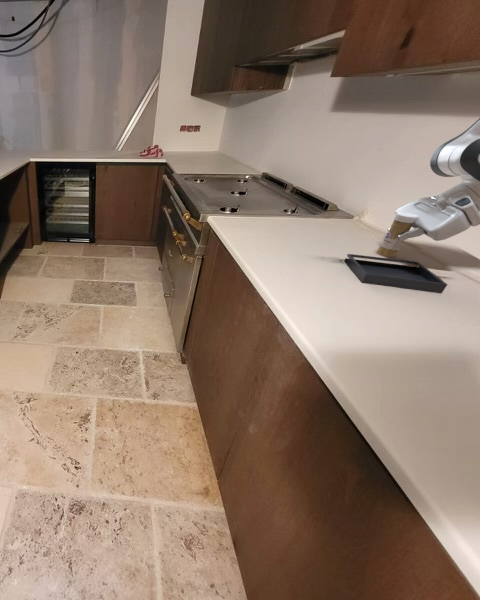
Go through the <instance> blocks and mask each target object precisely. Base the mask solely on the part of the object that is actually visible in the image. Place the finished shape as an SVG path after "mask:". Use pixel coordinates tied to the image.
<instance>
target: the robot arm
mask: <svg viewBox="0 0 480 600" xmlns="http://www.w3.org/2000/svg"><path fill="white" fill-rule="evenodd" d="M429 166H430V169H431V171H432V172H433V173H434V174H436V175H437V176H439V177H442V178H452V177H460V178H461V179H462V181H461V182H460V183H459V184H457V185H454V186H453V187H451V188H449V189H447V190H445V191H443V192H441V193H439V194H437V195H434V196H427V197H426V196H425V197H424V196H423V197H421V198H418V199H415V200H412V201H410V202H409V203H406V204H404V205H401V206H400V207H398V208H397V209H396V210H395V211H394V214H395V215H396V214H397V213H399V212H405V213H411V214H415V215H417V216H418V218H417V220H416V221H415V223H414V224H413V225H412V227H411V228H412V229H411V230H409V231H408V232H402V233H400V234H398V235H397V237H398V239H399V240H401V241H403V242H404V241H406V240H408V239H412V238H417V237H421V236H423V235H424V236H426V237H429V238H430V239H432V240H433V241H436V242H439V241H444V240H445V241H446V240H447V239H450V238H452V237H454V236H456V235H458V234H461V233H463V232H466V231H467V230H468V229H470V228H471V227H477V226H479V225H480V117H479V118H478V119H477V120H475V122H474V123H472V124H471V125H470V126H469V127H468V128H467V129H466V130H464V131H463V132H462V133H460V134H458V135H457V136H455V137H453V138H451V139H449V140H448V141H446V142H444V143H442V144H440V146H439V147H437V149H435V151H434V152H433V154H432V155H431V157H430V161H429ZM390 227H391V226H389V227H388V228H387V229H386V230H387V232H388V231H389V229H390Z"/></svg>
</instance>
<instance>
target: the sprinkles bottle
mask: <svg viewBox="0 0 480 600" xmlns="http://www.w3.org/2000/svg"><path fill="white" fill-rule="evenodd" d="M417 218H418V216H417V215H415V214H411V213H405V212H399V213H397V214H395V216H394V219H393V222H392V224H391V225H390V226H389V227H390V229H389V231H388V230H387V232H386V234H385V236H384V237H383V239H382V241H381V243H380V245H379V247H378V248H377V251H376V254H377V255H379V256H382V257H385V258H394V257H395V256H396V254H397V253H398V251H399V250H400V248H401V246H402V245H403V243H404V241H401V240H399V239H398V237H397V235H398V234H400V233H402V232H408V231H411V229H412V228H413V227H412V225H413V224H414V223H415V221H416V220H417Z"/></svg>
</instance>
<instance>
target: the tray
mask: <svg viewBox="0 0 480 600" xmlns="http://www.w3.org/2000/svg"><path fill="white" fill-rule="evenodd" d="M346 256H347V257H346V258H345V259H344V263H345V264H346V265H347V267H349V269H350V270H351V271H352V272H353V274H354V275H355V276H356V277H357V278H358V279H359V280H360V282H361V283H363V284H364V283H365V284H370V285H371V284H372V285H379V286H387V287H395V288H400V289H401V288H402V289H408V290H409V289H410V290H417V291H424V292H431V293H439V294H442V293H443V292H444V291H445V289H446V288H447V286H448V285H449V284H448V283H446V282H445V281H444V280H442V279H441V278H440V277H439V276H438V275H436V274H434V273H433V272H432V271H431V270H430V269H428V268H427V267H426V266H425V265H423V264H422V263H420V262H419V261H414V260H405V259H397V258H390V257H379V256H370V255H362V254H361V255H360V254H352V253H347V255H346ZM356 258H358V259H356ZM363 259H367V260H363ZM372 260H376V261H372ZM380 261H385V262H380ZM388 262H389V263H388ZM390 262H394V263H390ZM398 263H401V264H398ZM406 264H407V265H406ZM408 264H410V265H408ZM413 265H414V266H413ZM415 265H416V266H415Z"/></svg>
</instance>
